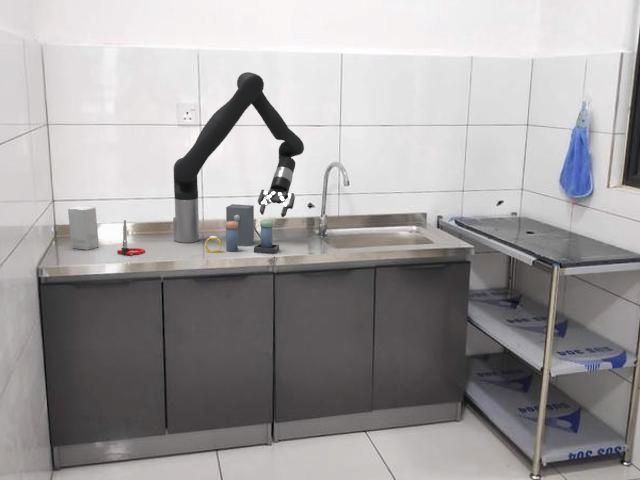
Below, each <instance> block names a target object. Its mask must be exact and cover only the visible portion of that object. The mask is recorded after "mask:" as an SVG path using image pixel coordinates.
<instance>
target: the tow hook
mask: <svg viewBox="0 0 640 480" xmlns="http://www.w3.org/2000/svg"><path fill="white" fill-rule="evenodd" d="M122 230H123V231H122V234H123V235H122V238H123V240H122V247H121V248H120V249H117V252H116V253H117V254H119V255H123V256H129V257H132V256H133V255H142V254H143V255H144V254H145V253H146V249H144V248H139V247H128V240H127V238H128V236H127V233H128V231H127V230H128V227H127V220H125V219H124V220H123V226H122Z"/></svg>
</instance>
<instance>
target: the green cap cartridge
mask: <svg viewBox="0 0 640 480" xmlns="http://www.w3.org/2000/svg"><path fill="white" fill-rule="evenodd" d="M259 224H260V225H259V226H260V244H261V248H272V244H273V226H274V221H273V220H272V219H261V220H260V223H259Z"/></svg>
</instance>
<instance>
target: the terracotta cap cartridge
mask: <svg viewBox="0 0 640 480" xmlns="http://www.w3.org/2000/svg"><path fill="white" fill-rule="evenodd" d="M224 227H225V249H226V250H225V251H226V252H228V253H229V252H230V253H235V252H238V250H239V245H238V222H237V221H227V222H226V221H225V226H224Z"/></svg>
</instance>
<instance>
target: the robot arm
mask: <svg viewBox="0 0 640 480" xmlns="http://www.w3.org/2000/svg"><path fill="white" fill-rule="evenodd" d="M236 86H237V90H235V92H234V94H233V95H232V97H231V98H230V99H228V101H226V103H225V104H223V105H222V106H221V107H220V108H218V109H217V110H216V111H215V112H214V113H213V114H212V115H211V117H209V119H208V121H207V122H206V123H205V125H204V127H202V129H201V130H200V133H199V135H198V137H197V139H196V141H195V142H194V144H193V145H192V147H191V148H190V150H188V151H187V153H186V154H184V156H183V157H180V158H178V159H176V161H175V163H174V165H173V191H174V212H175V213H174V217H173V220H172V222H173V223H172V224H173V226H172V227H173V241H174V242H178V243H194V242H199V240H200V229H199V227H200V225H199V224H200V222H199V221H200V219H199V216H200V215H199V191H198V190H199V188H198V174H199V173H200V171H201V170H202V168H203V166H204V164H205V163H206V162H207V160H208V158H210V157H211V155H212V154H213V153H214V152H215V151H216V150H217V148H219V147H220V145H221V144H222V142H223V141H224V140H225V139H226V138H227V137H228V135H229V134H230V132H231V131H232V130H233V129H234V127H235V126H236V124H237V123H238V122H239V120H240V119H241V117H242V116H243V114H244V113H245V112H246V111H247V109H248V108H249V107H250V106H251V105H252V106H253V108H254V109H255V110H256V111H257V113H258V115H260V118H261V120H262V121H263V122H264V124H265V125H266V127H267V129H268V130H269V132H270V133H271V135H272V136H273V137H274V138H275V140H278V141H282V142H281V143H280V145H279V147H278V162H277V166H276V169H275V172H274V173H273V178H272V181H271V184H270V187H269V189H268V191H266V190H265V189H261V190H260V193H259V196H258V198H257V203H258V205H259V206H260V208H259V212H260V215H263V216H264V213H265V210H266V206H268V205H270V204H276V203H277V204H282V210H281V213H280V217H281V218H284V217H286V216H287V212H288V210H289V209H290V210H292V209H293V208H294V205H295V199H296V196H295V194H294V192H293V193H289V192H290V188H291V185H292V182H293V175H294V172H295V168H296V161H295V159H293V157H296V156H299V155H300V156H301V155H302V154H303V152H304V150H305V145H304V143H303V141H302V139H301V138H300V137H299V136H298V135H297V134H296V133H294V131H293V130H292V129H290V128H289V126H288V125H287V123H286V122H285V120H284V118H283V117H282V116H281V115H280V113H279V112H278V110H276V108H275V107H274V106H273V105H272V104H271V102H270V100H268V98H267V96H266V95H265V94H264V92H263V91H264V87H265V81H264V79H263V78H262V77H261V75H258V74H256V73H254V72H243V73H241V74H240V75H239V76H238V78H237V81H236ZM287 199H289V202H288V204H287V202H286V200H287Z"/></svg>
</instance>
